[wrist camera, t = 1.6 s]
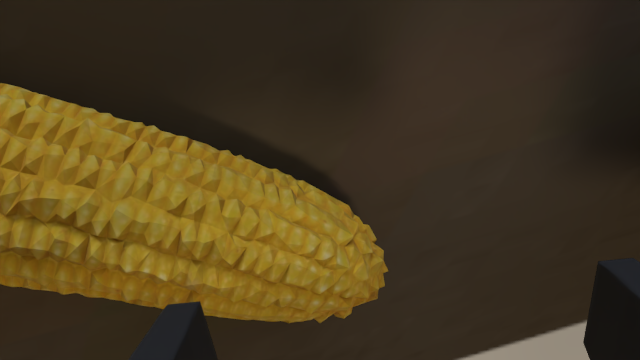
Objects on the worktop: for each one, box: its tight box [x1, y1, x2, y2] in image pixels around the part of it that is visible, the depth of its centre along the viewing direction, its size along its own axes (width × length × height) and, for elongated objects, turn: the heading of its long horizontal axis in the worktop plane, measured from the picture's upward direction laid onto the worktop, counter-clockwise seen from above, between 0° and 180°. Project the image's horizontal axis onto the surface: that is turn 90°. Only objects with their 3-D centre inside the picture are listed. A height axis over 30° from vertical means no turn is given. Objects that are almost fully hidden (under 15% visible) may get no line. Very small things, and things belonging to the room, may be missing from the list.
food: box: [0, 83, 388, 323], centre depth 16 cm, size 21×6×6 cm, turn 73°
